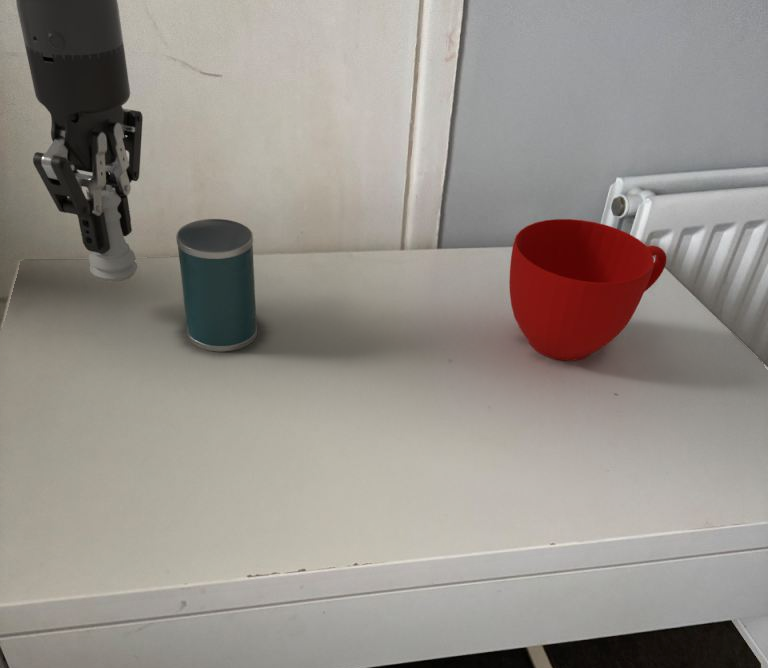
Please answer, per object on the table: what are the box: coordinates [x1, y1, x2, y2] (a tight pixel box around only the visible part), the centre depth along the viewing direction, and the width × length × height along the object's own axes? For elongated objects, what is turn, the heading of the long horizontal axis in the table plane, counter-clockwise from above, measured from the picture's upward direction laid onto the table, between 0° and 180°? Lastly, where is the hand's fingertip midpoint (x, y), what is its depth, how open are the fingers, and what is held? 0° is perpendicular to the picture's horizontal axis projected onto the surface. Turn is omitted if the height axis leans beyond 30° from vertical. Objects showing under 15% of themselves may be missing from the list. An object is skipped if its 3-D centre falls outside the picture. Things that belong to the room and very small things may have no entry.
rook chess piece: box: [85, 185, 139, 283], centre depth 77 cm, size 4×4×8 cm
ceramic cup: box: [508, 218, 667, 361], centre depth 81 cm, size 13×17×10 cm
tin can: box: [175, 218, 258, 353], centre depth 78 cm, size 7×7×10 cm
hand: (109, 241), depth 78 cm, fingers closed on rook chess piece, 3 cm apart
